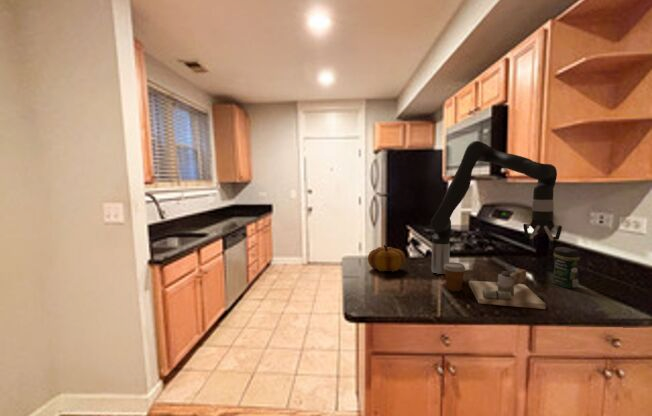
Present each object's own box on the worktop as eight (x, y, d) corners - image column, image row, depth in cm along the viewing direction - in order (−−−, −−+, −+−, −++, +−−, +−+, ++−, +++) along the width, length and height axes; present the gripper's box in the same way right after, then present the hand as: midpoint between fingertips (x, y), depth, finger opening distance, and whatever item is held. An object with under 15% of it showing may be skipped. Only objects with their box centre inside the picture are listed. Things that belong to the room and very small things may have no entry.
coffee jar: (548, 282, 147) (550, 246, 145) (562, 281, 148) (564, 245, 146) (567, 289, 137) (569, 250, 136) (581, 288, 138) (583, 249, 137)
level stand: (478, 303, 124) (479, 291, 123) (468, 284, 147) (469, 274, 146) (545, 309, 117) (546, 296, 116) (524, 288, 140) (524, 277, 139)
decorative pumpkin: (384, 277, 160) (384, 250, 159) (361, 267, 179) (361, 243, 178) (412, 271, 169) (412, 246, 168) (387, 263, 189) (387, 240, 188)
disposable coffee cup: (463, 286, 143) (464, 262, 142) (466, 293, 134) (466, 268, 133) (442, 285, 146) (443, 261, 145) (443, 291, 137) (444, 266, 137)
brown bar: (509, 297, 124) (510, 275, 123) (495, 293, 129) (495, 271, 128) (530, 287, 134) (530, 267, 133) (515, 284, 139) (516, 264, 138)
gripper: (522, 210, 129) (521, 247, 130) (564, 211, 120) (562, 251, 122) (523, 208, 135) (522, 244, 136) (563, 209, 126) (561, 248, 128)
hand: (541, 247), depth 129 cm, fingers open, 5 cm apart
